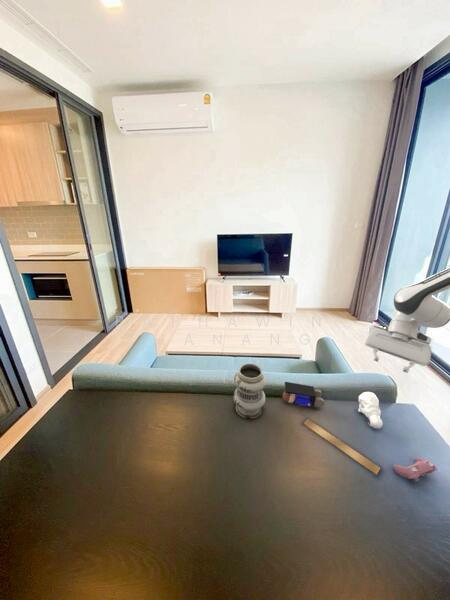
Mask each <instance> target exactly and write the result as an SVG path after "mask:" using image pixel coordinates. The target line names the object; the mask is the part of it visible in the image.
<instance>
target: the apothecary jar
mask: <svg viewBox="0 0 450 600" xmlns="http://www.w3.org/2000/svg"><path fill="white" fill-rule="evenodd" d="M233 380H234V385H236V389H235V390H234V392H233V396H232V397H233V401H234V404H235V410H236V413H237V414H238V415H239V416H240V417H242V418H244V419H248V418H249V419H251V420H252V419H255V418H257V417H259V416H261V414H262V407H263V406H264V405H265V403H266V394H265V392H264V390H263V389H264V388H265V387H266V386H267V376H266V375H265V373H264V372H263V369H262V367H260V366H259V365H257V364H255V363H245V364H242V365H241V366H240V367H239V369H238V370H237V371H236V372H235V374H234V377H233Z"/></svg>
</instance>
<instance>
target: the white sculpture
mask: <svg viewBox="0 0 450 600" xmlns="http://www.w3.org/2000/svg"><path fill="white" fill-rule="evenodd" d="M358 403H359V407H358V409H357V411H358V413H362V414H363V415H365V417H366V418H368V420H369V422H367V425H369V426H370V427H372V428H373V429H375V430H377V429H381V428H382V427H383V425H384V424H383V420H382V418H381V416H382V411H381V409H380V406H379V405H380V400H379V398H378V397H377V395H376V394H375V393H374V392H371V391H364V392H362V393H361V394H360V395H358Z"/></svg>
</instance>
